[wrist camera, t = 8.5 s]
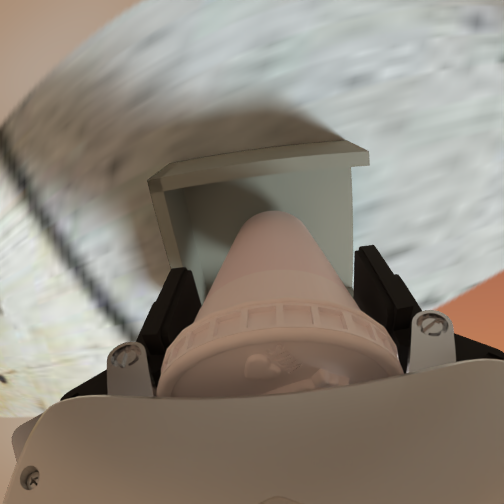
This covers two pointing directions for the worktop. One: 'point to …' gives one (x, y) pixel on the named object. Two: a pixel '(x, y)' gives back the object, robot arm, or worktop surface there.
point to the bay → (256, 202)
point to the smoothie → (276, 323)
